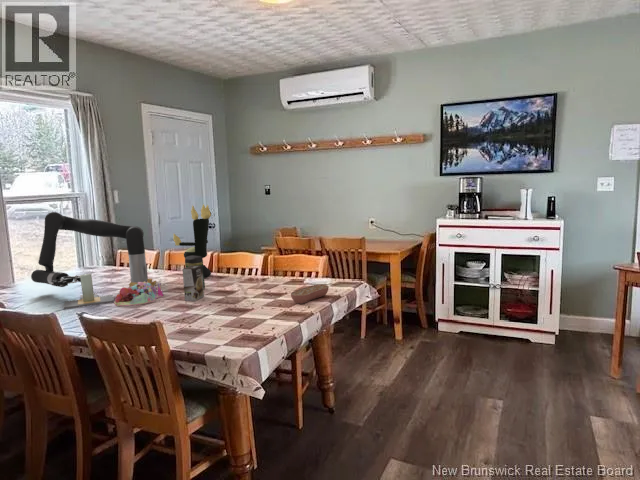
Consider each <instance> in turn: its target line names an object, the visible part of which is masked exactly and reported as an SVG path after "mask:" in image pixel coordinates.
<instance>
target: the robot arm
mask: <svg viewBox="0 0 640 480" xmlns="http://www.w3.org/2000/svg"><path fill="white" fill-rule="evenodd" d="M59 231H70V232H71V231H72V232H75V233H76V232H77V233H80V234H85V235H89V236H93V237H101V238H102V237H103V238H104V237H105V238H120V239H125V240H126V248H127V254H128V255H127V257H128V263H129V264H128V266H129V275H130V283H131V282H135V283H138V282H144V281H145V282H147V279H149V277H148V267H147V260H146V251H145V250H146V249H145V243H144V233H145V232H144V229H143V228H141V227H140V226H136V225H124V224H123V225H122V224H117V223H113V222H109V221H105V220H100V219H93V218H75V217H74V218H73V217H69V216H66V215H63V214H61V213H59V212H57V211H52V212H51V211H50V212H49V213H48V214H46V215H45V217H44V233H43V240H42V244H41V249H40V253H39V258H38V264H39V265H40V266H42V267H44V268H45V270H44V269H35V270H33V272H32V273H31V275H30V278H31V280H32V282H34V283H40V284H47V285H51V286H53V287H60V288H65V287H67V286H69V285H70V284H76V283H81V279H80V275H79V274H77V275H69V274H68V273H66V272H61V271H54V262H55V257H56V251H57V249H56V248H57V239H58V238H57V236H58V233H59Z"/></svg>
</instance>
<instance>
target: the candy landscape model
mask: <svg viewBox="0 0 640 480" xmlns="http://www.w3.org/2000/svg"><path fill="white" fill-rule="evenodd" d="M156 284H157V286H156ZM128 286H129V287H122V288H119V291H118V292H119V293H118V294H117V295H116V296H114V302H113V304H114V306H117V307H127V306H128V307H129V306H139V305H140V306H141V305H145V304H149V303H153V302H155V301H156V299H160V298H162V297H163V296H164V292H163V289H162V283H161V282H158V283H157V280H153V278H152V277H151V278H148V279H147V282H145V281H144V282H138V283H135V282H131V281H130V282H129V284H128Z"/></svg>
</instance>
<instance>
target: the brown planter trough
mask: <svg viewBox="0 0 640 480" xmlns="http://www.w3.org/2000/svg"><path fill="white" fill-rule="evenodd" d="M329 289H330V288H329V285H327V284H313V285H309V286H305V287H303V288H299V289H296V290H294V291H291V293H290V298H291V299H292V301H293V302H295V303H297V304H299V305H302V304H305V303H308V302H310V301H312V300H314V299H319V298H321V297H324V296H326V295H327V293H328V291H329Z"/></svg>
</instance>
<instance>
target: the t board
mask: <svg viewBox="0 0 640 480" xmlns="http://www.w3.org/2000/svg"><path fill="white" fill-rule="evenodd" d="M94 299H95V300H93V301H89V302H84V301H83V294H80V298H79V299H74V300H73V299H72V300H67V301H66V300H65V301H64V303H63V307H62V308H63V310H69V309H76V308H77V309H78V308H84V307H83V306H85V307H90V305H92V306H97V305H104V304H112V303H114V301H115V297H114V296H113V294H109V295H101V296H98V292H94Z"/></svg>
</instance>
